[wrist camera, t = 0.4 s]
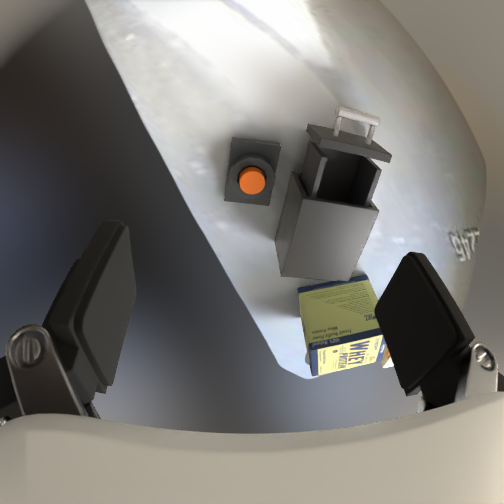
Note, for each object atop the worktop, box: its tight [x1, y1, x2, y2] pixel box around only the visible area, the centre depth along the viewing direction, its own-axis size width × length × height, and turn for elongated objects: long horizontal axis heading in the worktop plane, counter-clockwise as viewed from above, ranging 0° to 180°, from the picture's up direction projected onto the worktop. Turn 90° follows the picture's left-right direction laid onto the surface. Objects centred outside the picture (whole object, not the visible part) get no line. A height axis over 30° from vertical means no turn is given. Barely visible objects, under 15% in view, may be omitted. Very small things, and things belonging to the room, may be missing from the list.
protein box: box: [298, 275, 386, 376], centre depth 56 cm, size 10×16×16 cm
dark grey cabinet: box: [275, 172, 379, 281], centre depth 45 cm, size 14×12×9 cm
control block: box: [224, 137, 281, 206], centre depth 42 cm, size 10×7×3 cm
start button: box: [239, 167, 265, 194], centre depth 41 cm, size 4×4×2 cm
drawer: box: [300, 106, 392, 207], centre depth 39 cm, size 17×10×7 cm, turn 171°
